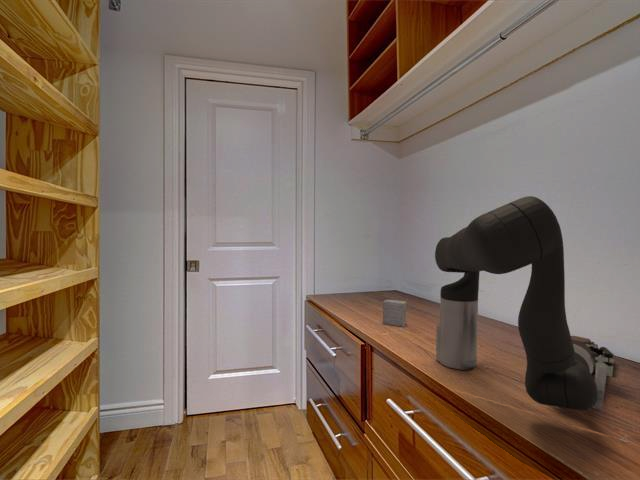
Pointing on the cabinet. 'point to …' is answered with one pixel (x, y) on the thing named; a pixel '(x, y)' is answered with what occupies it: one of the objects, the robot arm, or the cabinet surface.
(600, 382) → the slot board
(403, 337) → the cabinet surface
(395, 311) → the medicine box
